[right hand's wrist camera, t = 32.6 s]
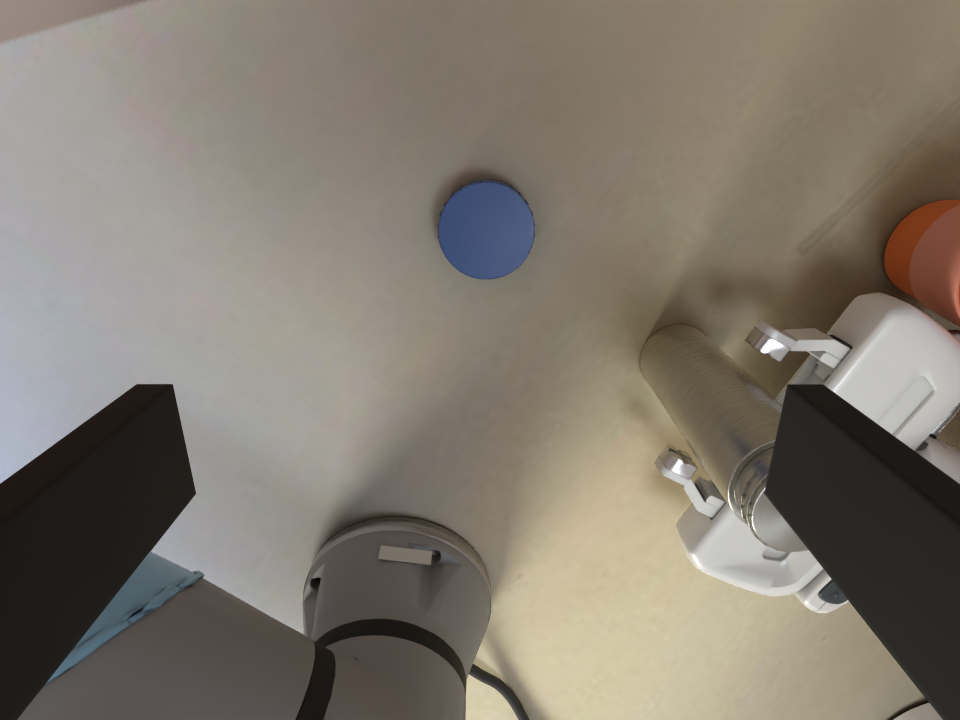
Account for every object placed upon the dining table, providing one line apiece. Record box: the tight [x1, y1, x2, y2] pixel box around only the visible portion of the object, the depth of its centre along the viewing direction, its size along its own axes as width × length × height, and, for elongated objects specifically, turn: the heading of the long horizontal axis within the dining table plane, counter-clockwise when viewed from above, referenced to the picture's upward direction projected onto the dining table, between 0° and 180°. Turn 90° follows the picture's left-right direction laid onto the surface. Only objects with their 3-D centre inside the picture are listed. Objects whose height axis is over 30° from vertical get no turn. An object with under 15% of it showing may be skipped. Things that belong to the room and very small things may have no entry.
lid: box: [438, 179, 535, 279], centre depth 36 cm, size 6×6×2 cm
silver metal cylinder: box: [640, 324, 808, 552], centre depth 32 cm, size 5×5×18 cm
